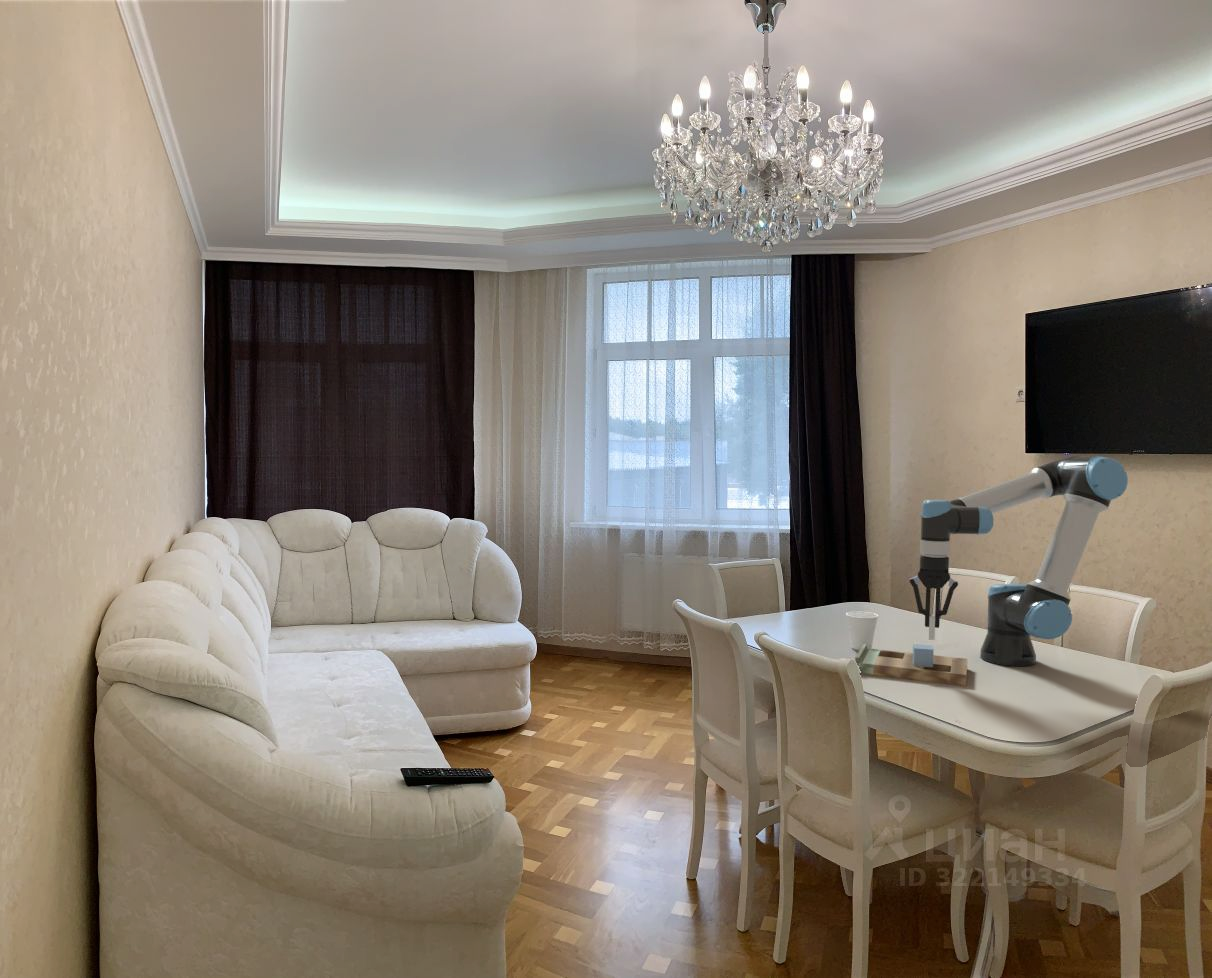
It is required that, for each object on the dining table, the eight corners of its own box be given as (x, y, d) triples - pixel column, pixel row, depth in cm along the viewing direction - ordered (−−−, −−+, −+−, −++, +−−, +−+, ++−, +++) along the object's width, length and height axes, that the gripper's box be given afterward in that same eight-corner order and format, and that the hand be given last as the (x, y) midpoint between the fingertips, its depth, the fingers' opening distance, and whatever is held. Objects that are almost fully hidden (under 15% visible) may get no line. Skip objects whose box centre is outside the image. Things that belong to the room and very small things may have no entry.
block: (931, 662, 235) (931, 645, 235) (933, 667, 230) (933, 649, 230) (912, 661, 237) (913, 644, 236) (914, 665, 232) (914, 648, 231)
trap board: (967, 669, 240) (967, 653, 239) (965, 685, 223) (966, 669, 223) (863, 657, 252) (863, 643, 251) (854, 672, 235) (855, 657, 235)
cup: (879, 653, 257) (880, 618, 256) (846, 651, 259) (847, 617, 258) (875, 645, 266) (876, 612, 266) (843, 644, 268) (844, 610, 268)
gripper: (959, 555, 232) (956, 638, 233) (910, 552, 236) (907, 633, 238) (960, 558, 225) (957, 644, 226) (909, 555, 229) (906, 639, 231)
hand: (931, 638), depth 232 cm, fingers closed
